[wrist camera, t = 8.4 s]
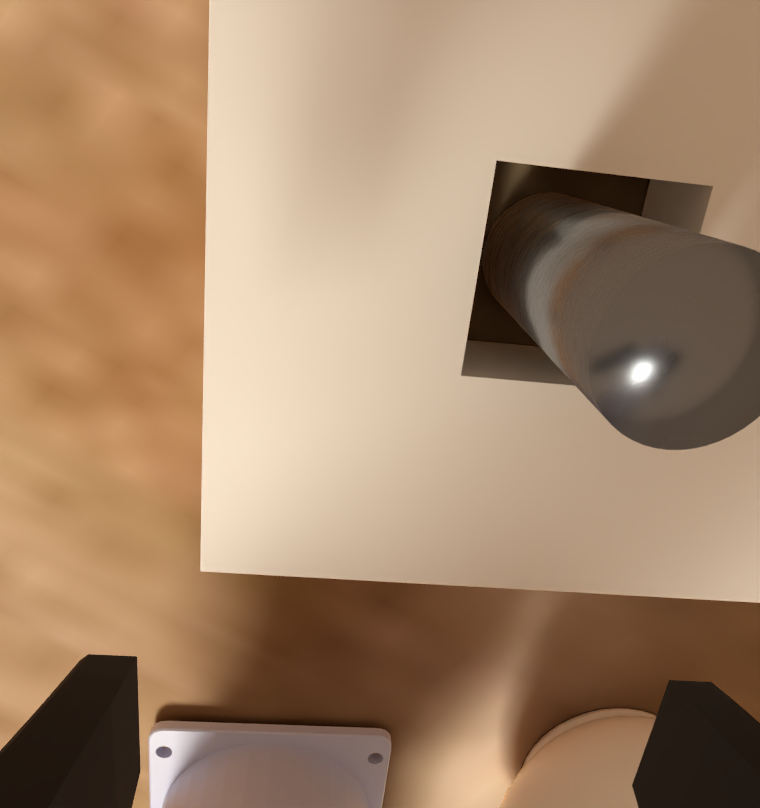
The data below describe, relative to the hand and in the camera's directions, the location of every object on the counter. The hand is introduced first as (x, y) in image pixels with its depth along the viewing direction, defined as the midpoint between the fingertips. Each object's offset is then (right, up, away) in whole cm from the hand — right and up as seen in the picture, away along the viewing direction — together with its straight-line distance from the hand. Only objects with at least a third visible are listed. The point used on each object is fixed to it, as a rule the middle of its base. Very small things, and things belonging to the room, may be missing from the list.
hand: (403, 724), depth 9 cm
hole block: (+4, +8, +8) cm, 12 cm away
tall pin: (+4, +8, +8) cm, 12 cm away
